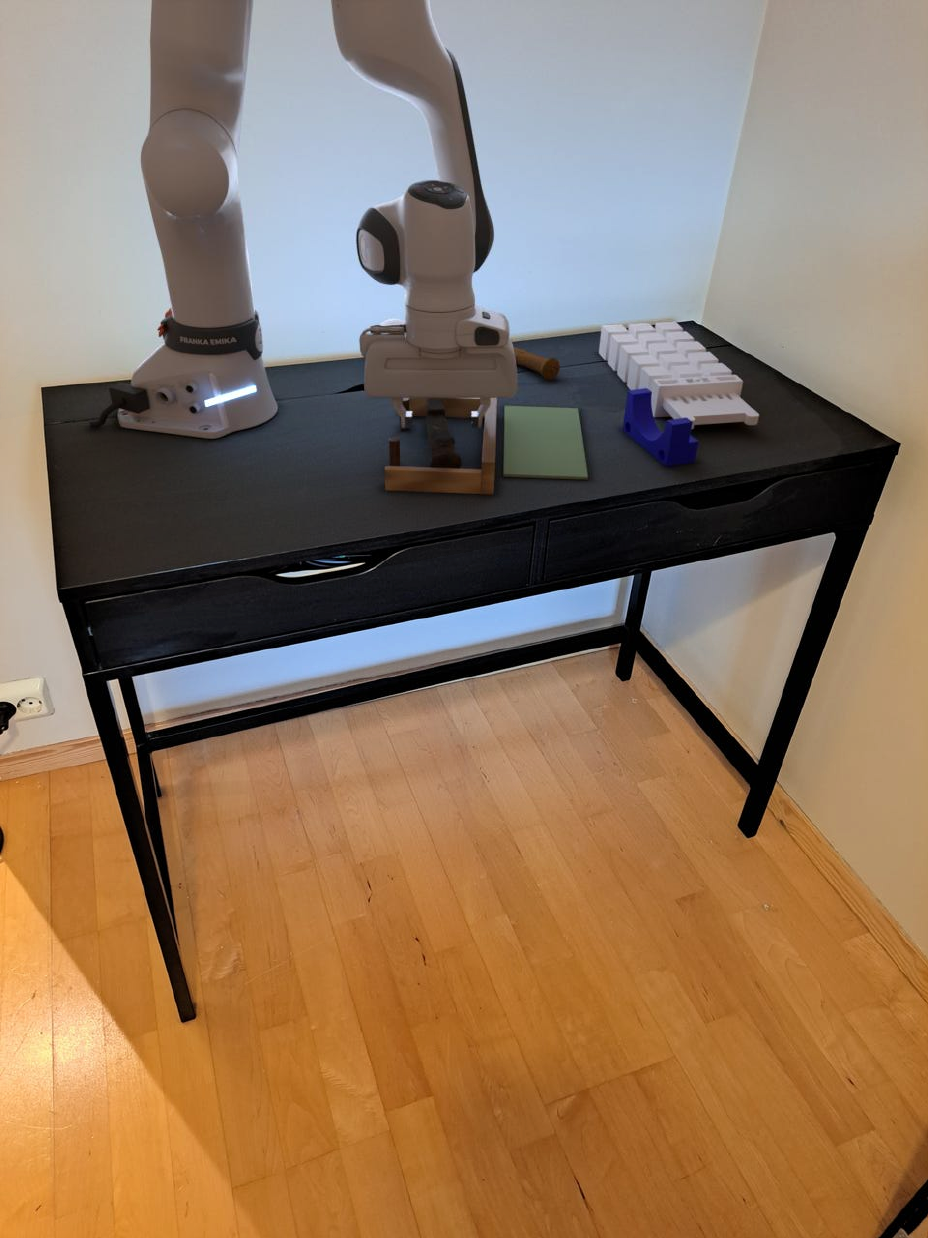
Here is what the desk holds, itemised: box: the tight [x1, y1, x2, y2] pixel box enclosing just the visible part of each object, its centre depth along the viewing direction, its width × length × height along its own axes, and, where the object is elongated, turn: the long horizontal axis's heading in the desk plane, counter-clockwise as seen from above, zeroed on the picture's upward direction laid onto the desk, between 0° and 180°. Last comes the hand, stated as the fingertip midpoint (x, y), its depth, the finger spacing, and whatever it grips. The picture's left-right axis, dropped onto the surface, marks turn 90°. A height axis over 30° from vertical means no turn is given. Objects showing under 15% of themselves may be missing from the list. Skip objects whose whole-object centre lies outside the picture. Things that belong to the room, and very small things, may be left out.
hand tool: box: [425, 398, 463, 469], centre depth 122 cm, size 19×4×5 cm, turn 4°
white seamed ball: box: [379, 318, 406, 335], centre depth 145 cm, size 10×7×7 cm
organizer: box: [598, 321, 760, 430], centre depth 140 cm, size 13×5×35 cm
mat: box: [502, 405, 589, 481], centre depth 126 cm, size 11×22×1 cm, turn 178°
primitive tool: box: [513, 345, 561, 381], centre depth 149 cm, size 19×6×4 cm, turn 37°
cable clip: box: [622, 388, 699, 467], centre depth 124 cm, size 12×4×6 cm, turn 21°
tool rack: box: [384, 398, 498, 495], centre depth 122 cm, size 14×24×4 cm, turn 178°
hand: (442, 426), depth 122 cm, fingers open, 8 cm apart
